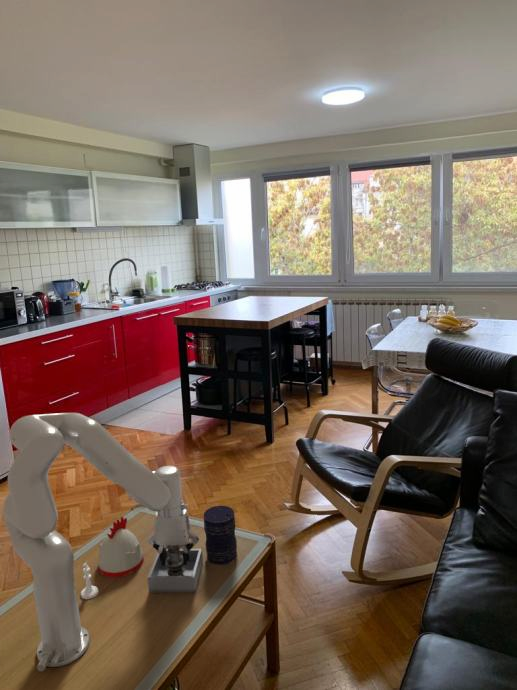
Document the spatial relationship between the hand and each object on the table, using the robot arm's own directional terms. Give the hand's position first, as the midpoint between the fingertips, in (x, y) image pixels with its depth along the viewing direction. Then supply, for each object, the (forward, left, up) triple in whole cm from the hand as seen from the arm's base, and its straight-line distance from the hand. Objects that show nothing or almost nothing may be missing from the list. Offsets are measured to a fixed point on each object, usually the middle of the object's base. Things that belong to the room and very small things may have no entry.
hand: (175, 562), depth 156 cm
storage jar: (+11, -13, -6) cm, 17 cm away
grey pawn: (0, 0, -3) cm, 3 cm away
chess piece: (-7, +24, -6) cm, 26 cm away
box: (0, 0, -5) cm, 5 cm away
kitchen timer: (+7, +19, -6) cm, 21 cm away
